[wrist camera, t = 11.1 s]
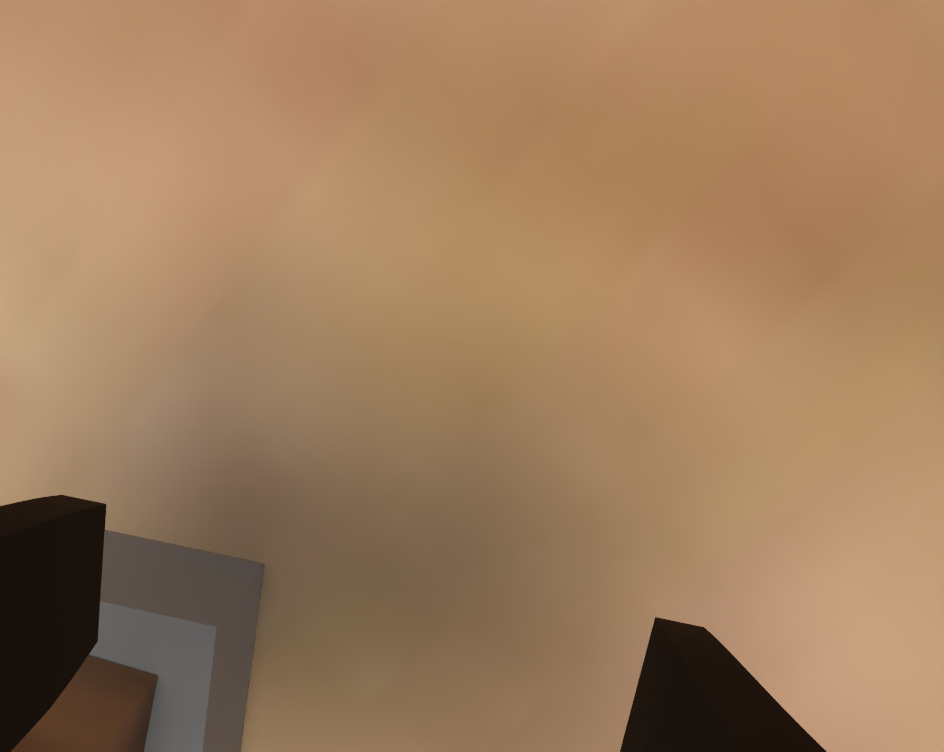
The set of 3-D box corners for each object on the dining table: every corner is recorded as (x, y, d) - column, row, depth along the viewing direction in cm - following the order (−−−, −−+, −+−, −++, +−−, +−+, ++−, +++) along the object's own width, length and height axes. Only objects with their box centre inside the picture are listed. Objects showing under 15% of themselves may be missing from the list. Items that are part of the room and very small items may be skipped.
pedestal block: (241, 767, 24) (189, 863, 20) (20, 716, 24) (-67, 802, 21) (267, 559, 22) (216, 627, 19) (29, 507, 22) (-64, 565, 19)
